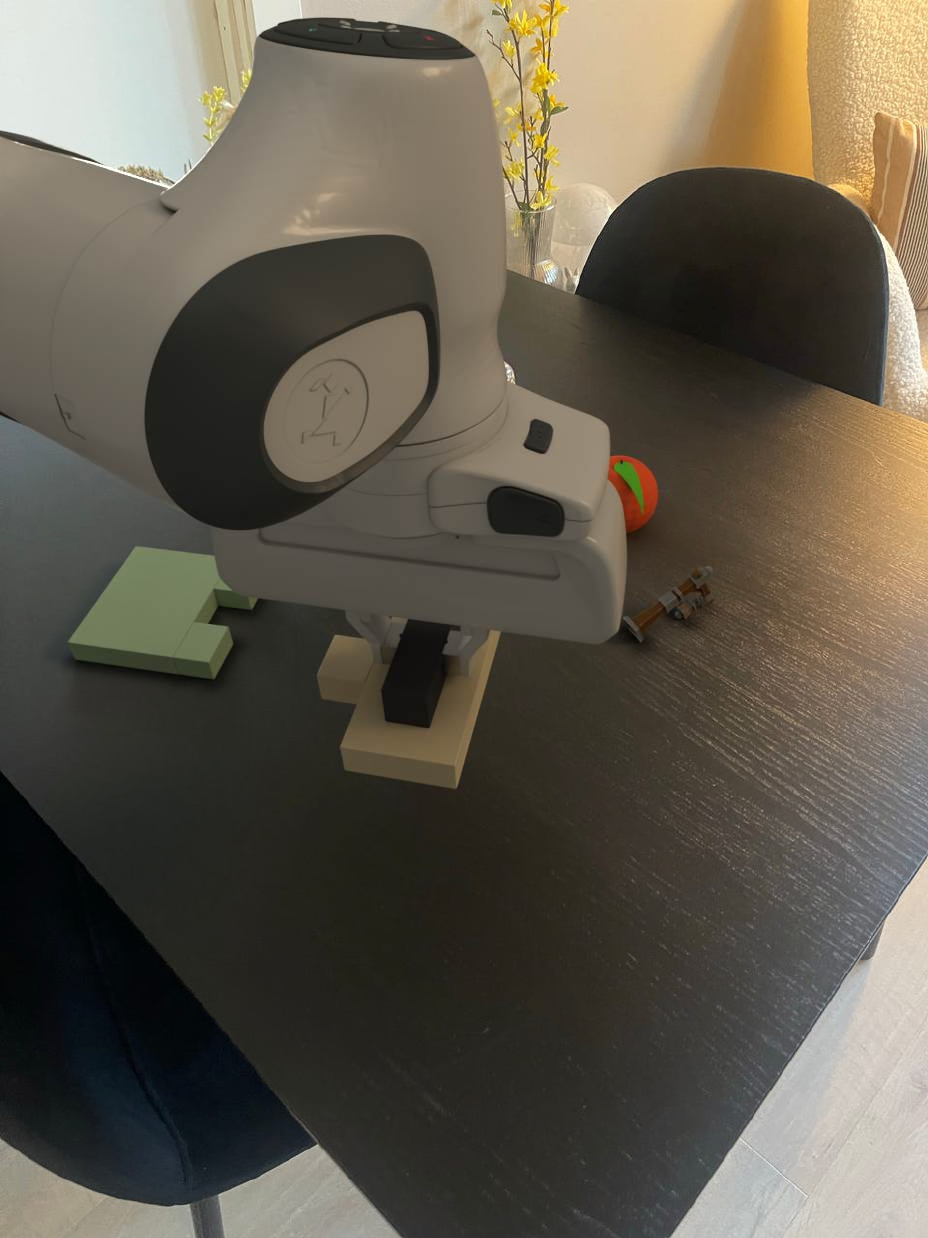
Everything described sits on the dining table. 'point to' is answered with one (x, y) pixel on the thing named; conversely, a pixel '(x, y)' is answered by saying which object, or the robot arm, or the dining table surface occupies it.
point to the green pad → (160, 616)
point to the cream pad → (400, 741)
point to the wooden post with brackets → (674, 602)
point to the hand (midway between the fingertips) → (425, 661)
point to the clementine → (633, 490)
